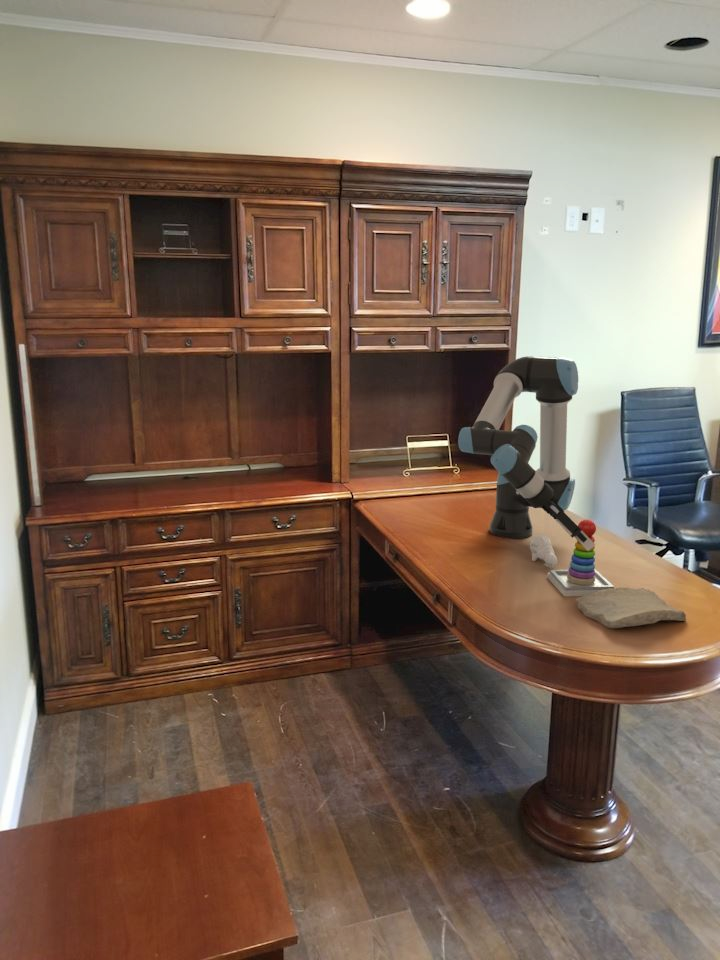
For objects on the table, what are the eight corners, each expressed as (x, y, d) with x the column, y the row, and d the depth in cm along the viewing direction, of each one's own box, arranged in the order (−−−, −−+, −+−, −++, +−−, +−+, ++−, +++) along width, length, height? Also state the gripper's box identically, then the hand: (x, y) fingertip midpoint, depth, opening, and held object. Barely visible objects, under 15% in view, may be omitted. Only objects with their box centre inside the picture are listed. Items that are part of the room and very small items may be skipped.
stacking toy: (566, 584, 214) (571, 522, 209) (567, 574, 221) (572, 514, 217) (594, 587, 212) (600, 524, 207) (594, 578, 219) (600, 517, 215)
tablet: (695, 630, 190) (646, 595, 208) (700, 605, 188) (650, 571, 206) (613, 645, 184) (570, 607, 202) (617, 618, 181) (573, 582, 199)
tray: (547, 577, 223) (548, 569, 223) (595, 576, 224) (596, 568, 224) (564, 596, 209) (564, 588, 208) (615, 595, 210) (616, 587, 209)
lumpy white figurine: (547, 531, 239) (565, 546, 228) (544, 555, 242) (562, 571, 231) (529, 532, 238) (546, 547, 227) (526, 556, 241) (543, 573, 230)
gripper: (512, 488, 221) (558, 535, 225) (538, 511, 197) (588, 563, 201) (531, 470, 220) (576, 518, 225) (559, 491, 196) (609, 544, 200)
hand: (582, 539), depth 213 cm, fingers open, 13 cm apart
